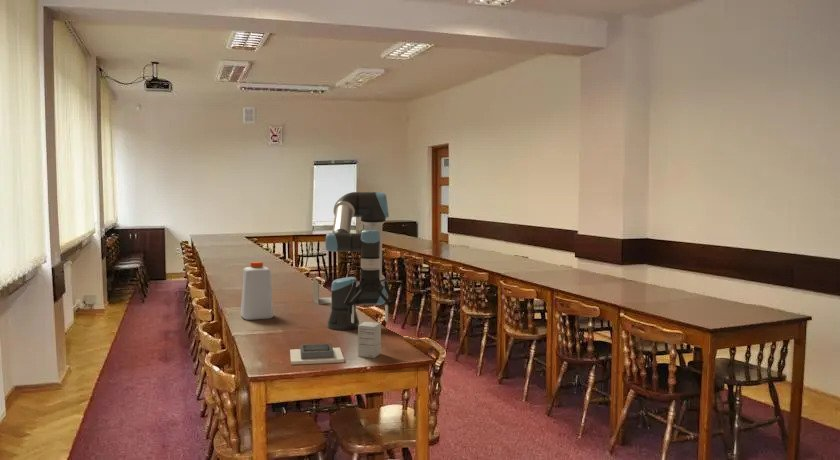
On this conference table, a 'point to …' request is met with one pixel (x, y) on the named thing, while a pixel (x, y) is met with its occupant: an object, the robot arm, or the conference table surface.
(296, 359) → the base plate
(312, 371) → the conference table surface
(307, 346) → the collar
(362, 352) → the supplement box
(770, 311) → the conference table surface
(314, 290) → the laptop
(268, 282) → the plastic bottle
